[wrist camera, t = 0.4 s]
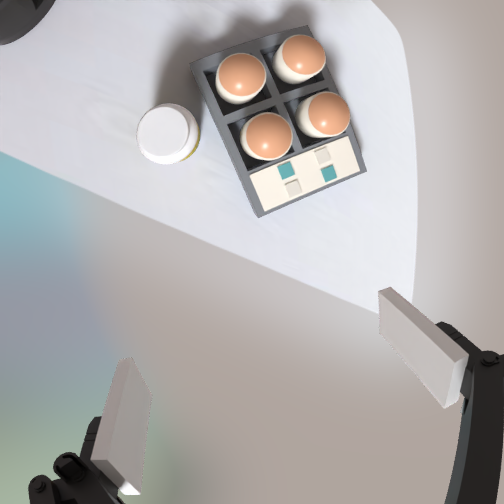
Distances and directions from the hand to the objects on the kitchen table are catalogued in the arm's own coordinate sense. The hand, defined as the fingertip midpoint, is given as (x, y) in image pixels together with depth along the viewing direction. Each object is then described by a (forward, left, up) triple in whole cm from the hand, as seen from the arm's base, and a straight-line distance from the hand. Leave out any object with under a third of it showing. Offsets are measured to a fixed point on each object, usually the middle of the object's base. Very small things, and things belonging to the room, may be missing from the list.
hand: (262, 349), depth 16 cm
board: (-10, +11, -27) cm, 31 cm away
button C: (-9, +8, -24) cm, 27 cm away
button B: (-16, +15, -24) cm, 32 cm away
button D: (-9, +15, -24) cm, 29 cm away
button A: (-16, +8, -24) cm, 30 cm away
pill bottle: (-13, -1, -27) cm, 30 cm away
